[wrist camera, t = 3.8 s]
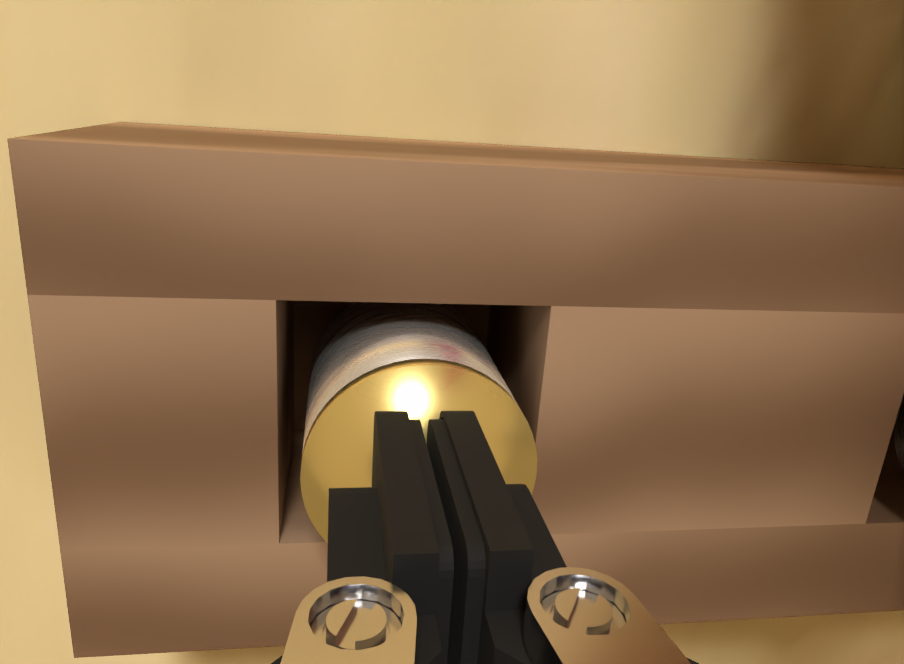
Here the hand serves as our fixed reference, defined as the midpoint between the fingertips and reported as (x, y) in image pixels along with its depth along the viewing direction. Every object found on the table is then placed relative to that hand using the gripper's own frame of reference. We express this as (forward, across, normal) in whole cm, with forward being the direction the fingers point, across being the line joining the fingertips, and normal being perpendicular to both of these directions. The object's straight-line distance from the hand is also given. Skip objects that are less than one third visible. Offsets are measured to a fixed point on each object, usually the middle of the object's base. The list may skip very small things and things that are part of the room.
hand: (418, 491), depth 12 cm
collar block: (+8, -7, 0) cm, 10 cm away
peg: (+5, 0, 0) cm, 5 cm away
